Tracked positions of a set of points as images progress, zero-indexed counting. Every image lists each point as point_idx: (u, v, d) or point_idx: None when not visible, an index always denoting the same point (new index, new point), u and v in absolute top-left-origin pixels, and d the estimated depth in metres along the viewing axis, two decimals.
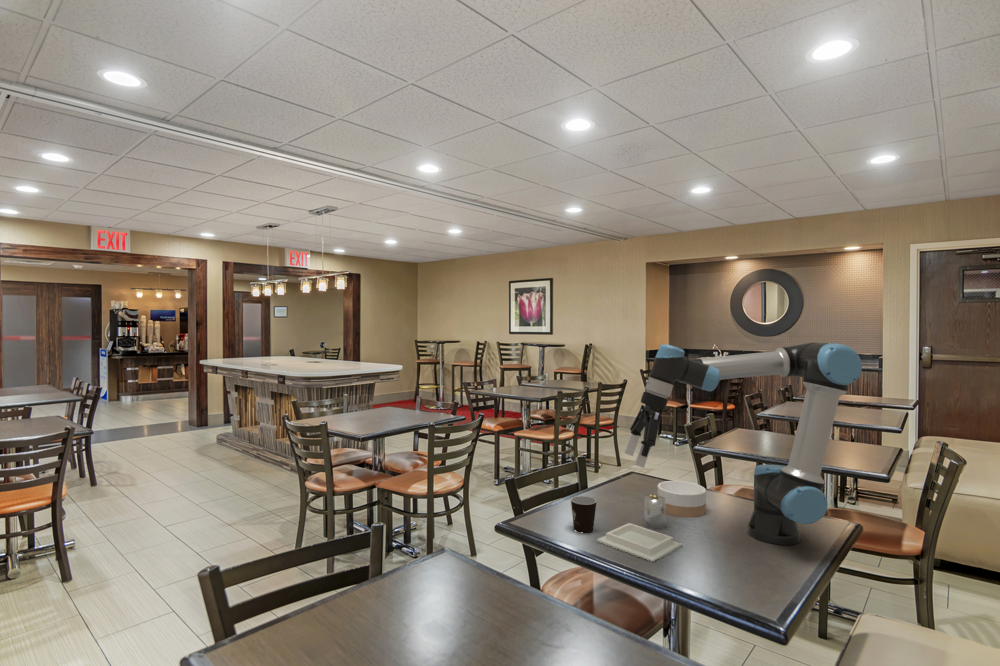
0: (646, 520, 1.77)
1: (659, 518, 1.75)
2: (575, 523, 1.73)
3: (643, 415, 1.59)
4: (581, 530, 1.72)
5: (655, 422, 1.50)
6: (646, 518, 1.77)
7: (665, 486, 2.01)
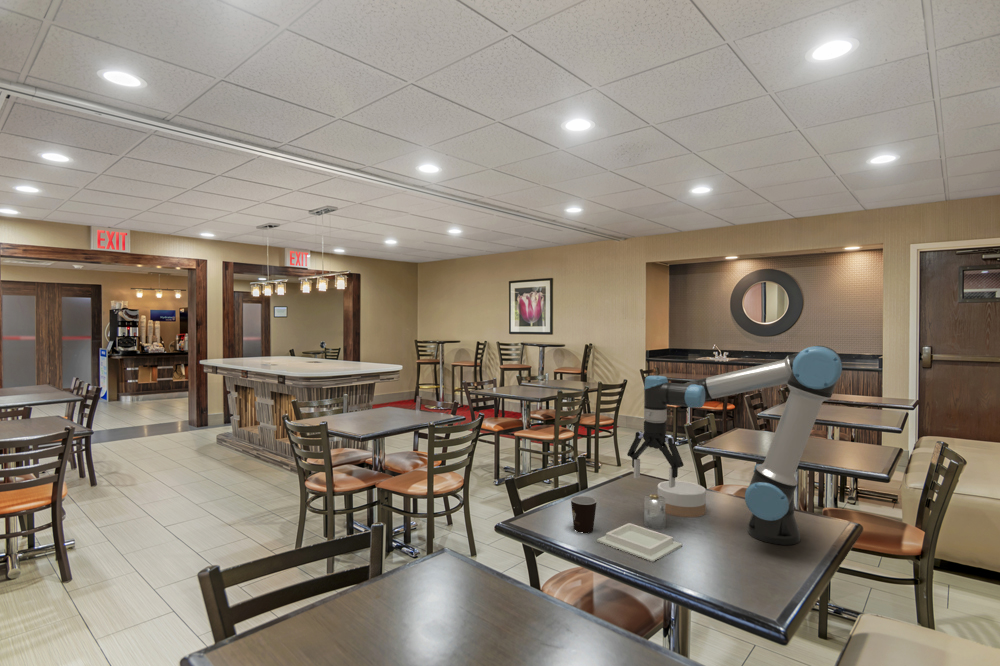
0: (646, 520, 1.77)
1: (659, 518, 1.75)
2: (575, 523, 1.73)
3: None
4: (581, 530, 1.72)
5: (674, 446, 1.73)
6: (646, 518, 1.77)
7: (665, 486, 2.01)
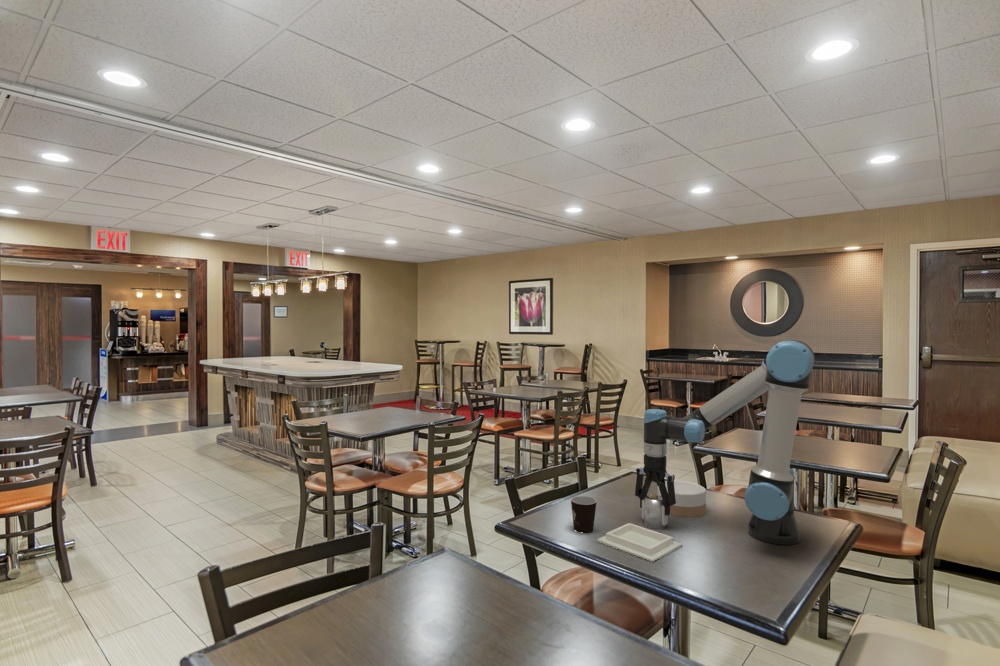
0: (646, 520, 1.77)
1: (660, 518, 1.75)
2: (575, 523, 1.73)
3: None
4: (581, 530, 1.72)
5: (672, 484, 1.74)
6: (646, 518, 1.77)
7: None
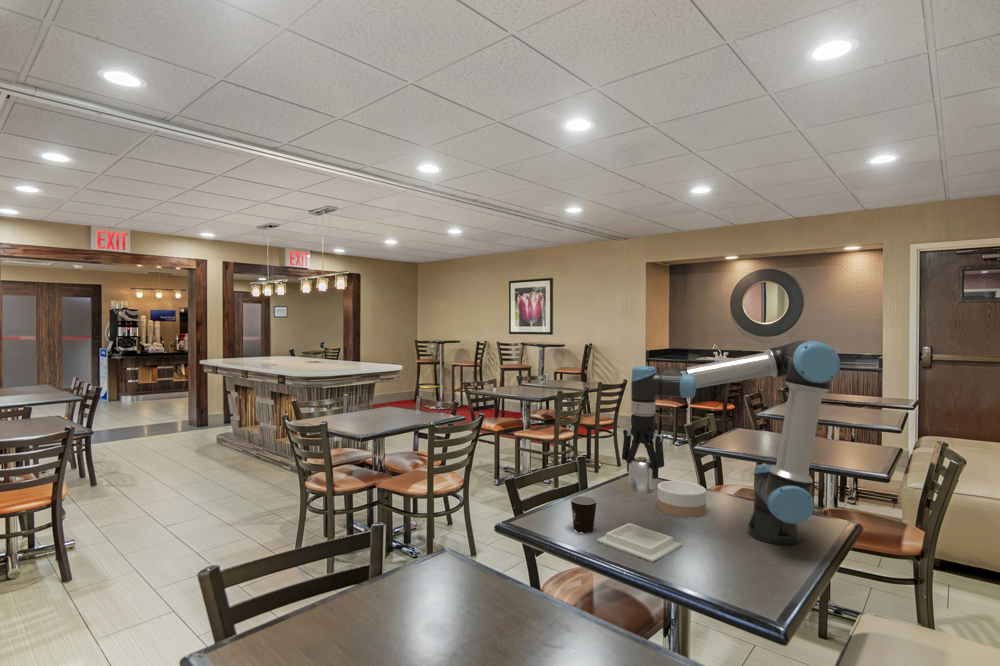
0: (633, 484, 1.66)
1: (647, 482, 1.63)
2: (575, 523, 1.73)
3: None
4: (581, 530, 1.72)
5: (660, 445, 1.62)
6: (633, 482, 1.66)
7: (665, 486, 2.01)
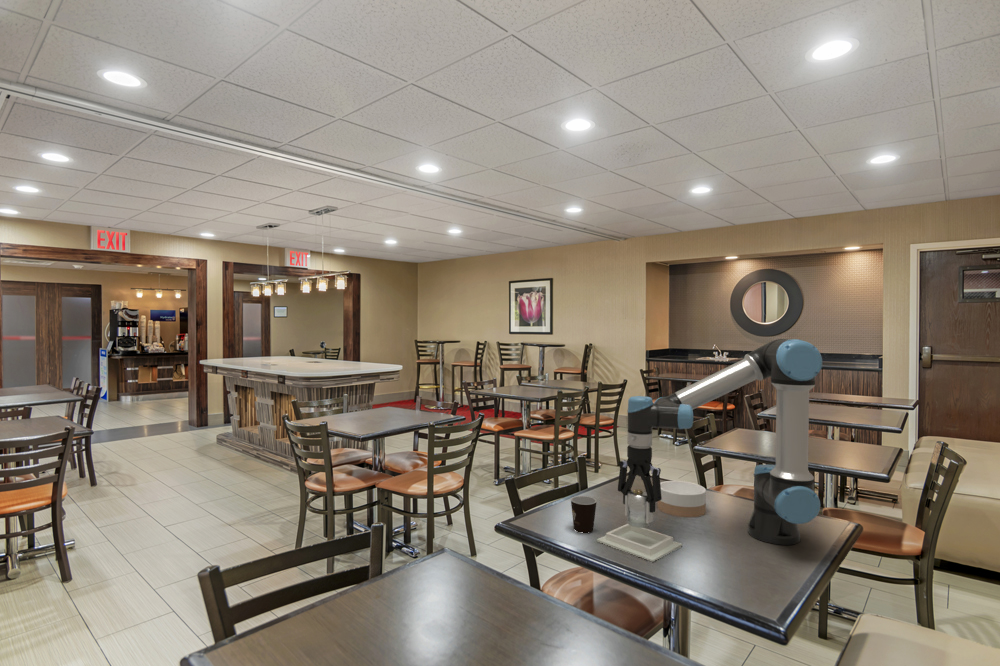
0: (629, 517, 1.62)
1: (644, 515, 1.60)
2: (575, 523, 1.73)
3: None
4: (581, 530, 1.72)
5: (657, 478, 1.58)
6: (629, 515, 1.62)
7: (665, 486, 2.01)
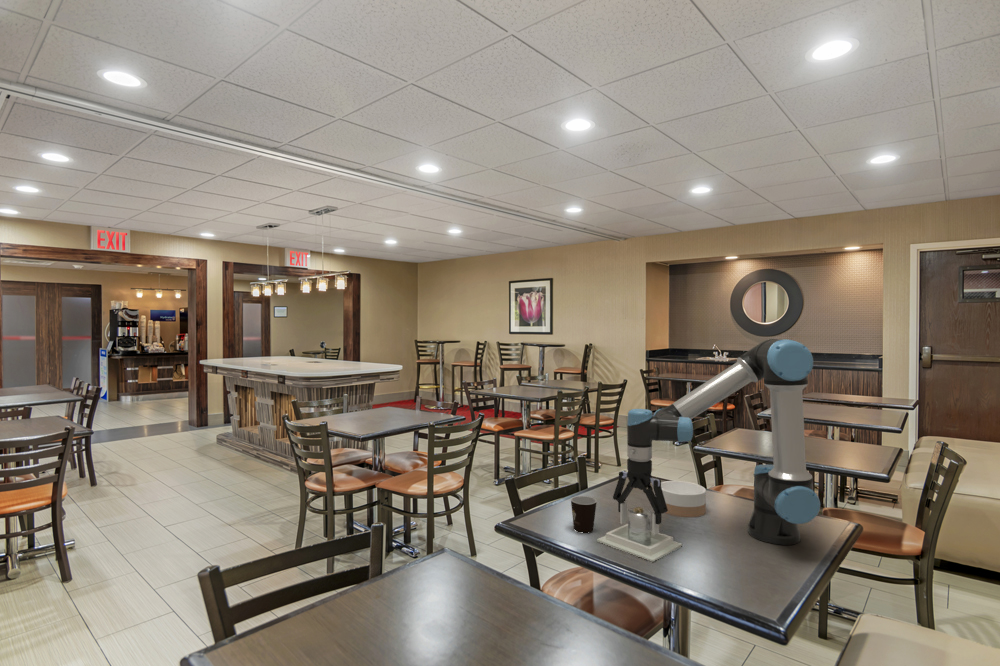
0: (630, 536, 1.62)
1: (644, 534, 1.60)
2: (575, 523, 1.73)
3: None
4: (581, 530, 1.72)
5: (659, 489, 1.58)
6: (630, 534, 1.62)
7: (665, 486, 2.01)
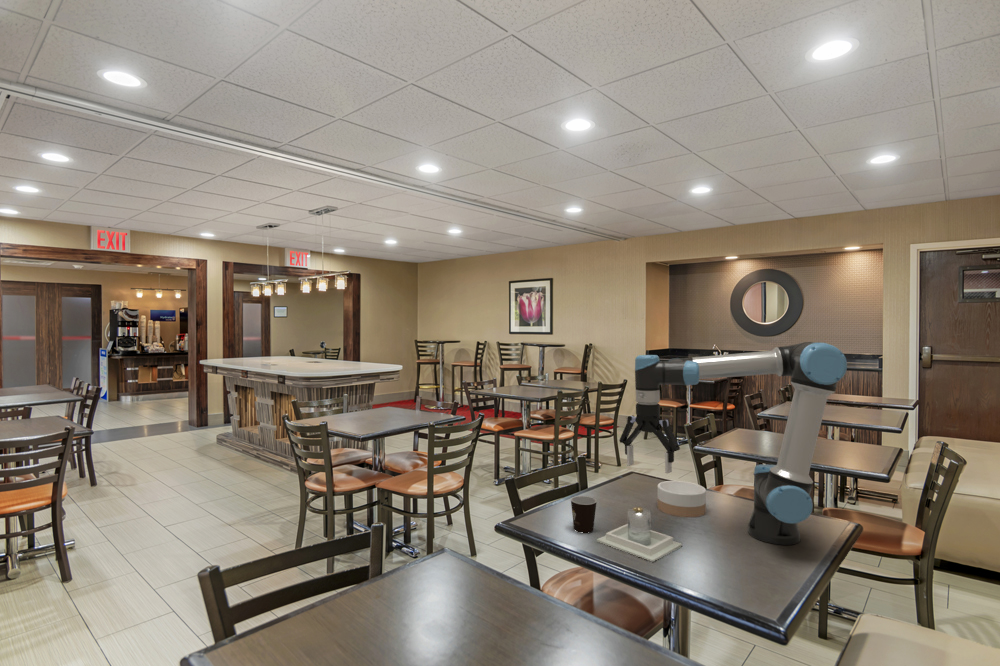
0: (629, 536, 1.62)
1: (644, 533, 1.60)
2: (575, 523, 1.73)
3: None
4: (581, 530, 1.72)
5: (669, 429, 1.62)
6: (629, 533, 1.62)
7: (665, 486, 2.01)
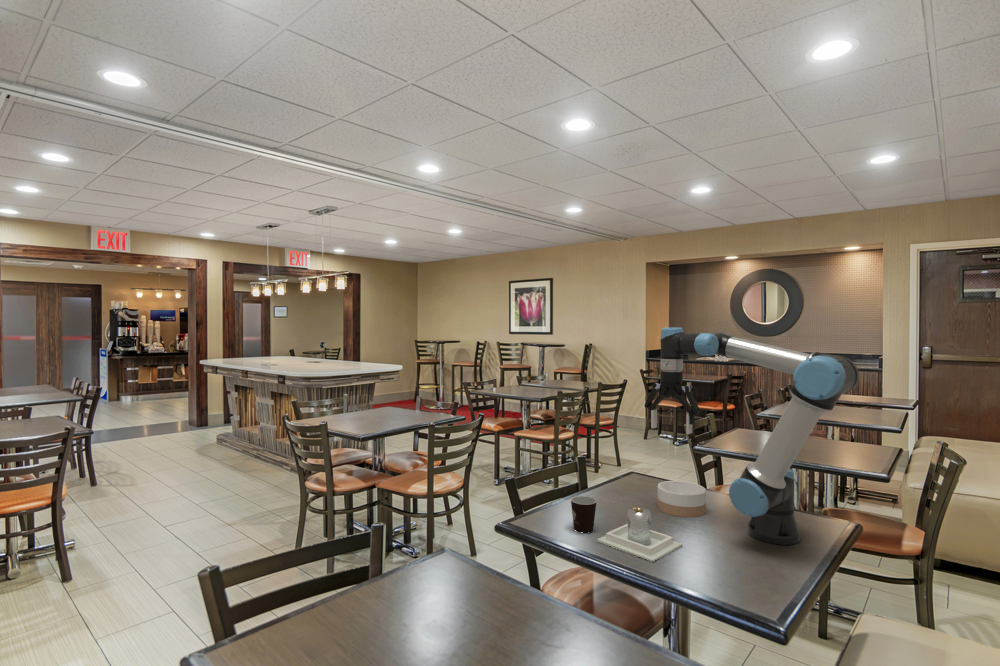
0: (629, 535, 1.62)
1: (644, 533, 1.60)
2: (575, 523, 1.73)
3: None
4: (581, 530, 1.72)
5: (691, 394, 1.78)
6: (629, 533, 1.62)
7: (665, 486, 2.01)
